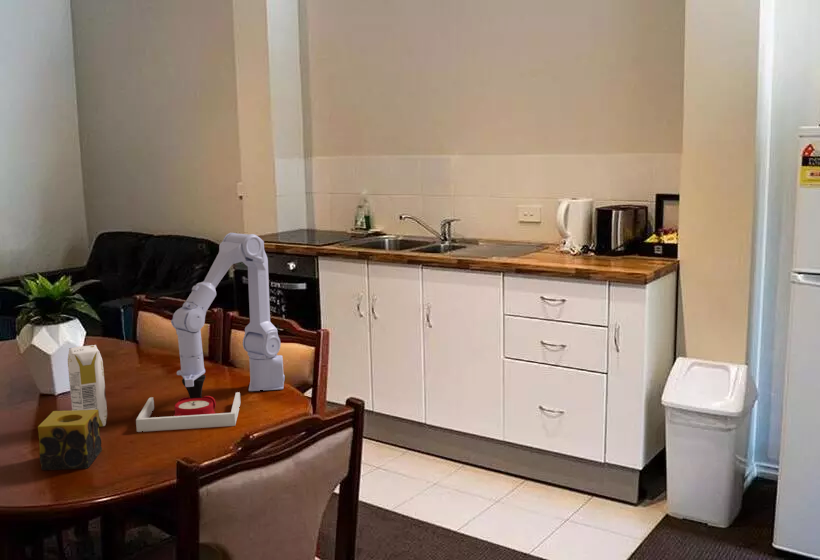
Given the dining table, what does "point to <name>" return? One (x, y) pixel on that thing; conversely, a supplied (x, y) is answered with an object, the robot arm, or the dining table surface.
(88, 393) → the juice carton
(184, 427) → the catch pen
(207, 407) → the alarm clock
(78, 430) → the yellow patterned cube
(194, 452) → the dining table surface
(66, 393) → the dining table surface
